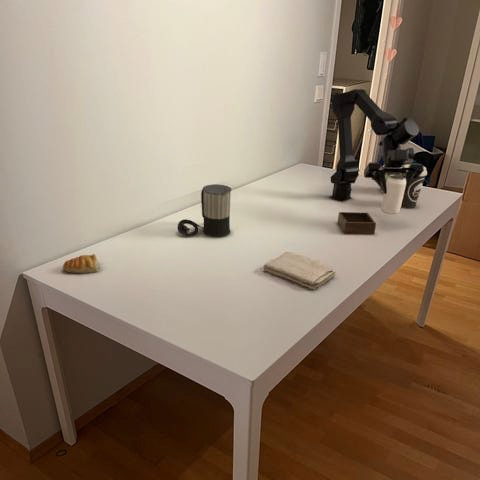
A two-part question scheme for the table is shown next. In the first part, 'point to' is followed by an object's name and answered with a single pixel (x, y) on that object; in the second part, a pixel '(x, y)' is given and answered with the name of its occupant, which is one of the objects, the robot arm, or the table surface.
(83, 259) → the pastry
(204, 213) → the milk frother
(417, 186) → the coffee cup
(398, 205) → the can
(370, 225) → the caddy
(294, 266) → the washcloth
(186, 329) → the table surface
